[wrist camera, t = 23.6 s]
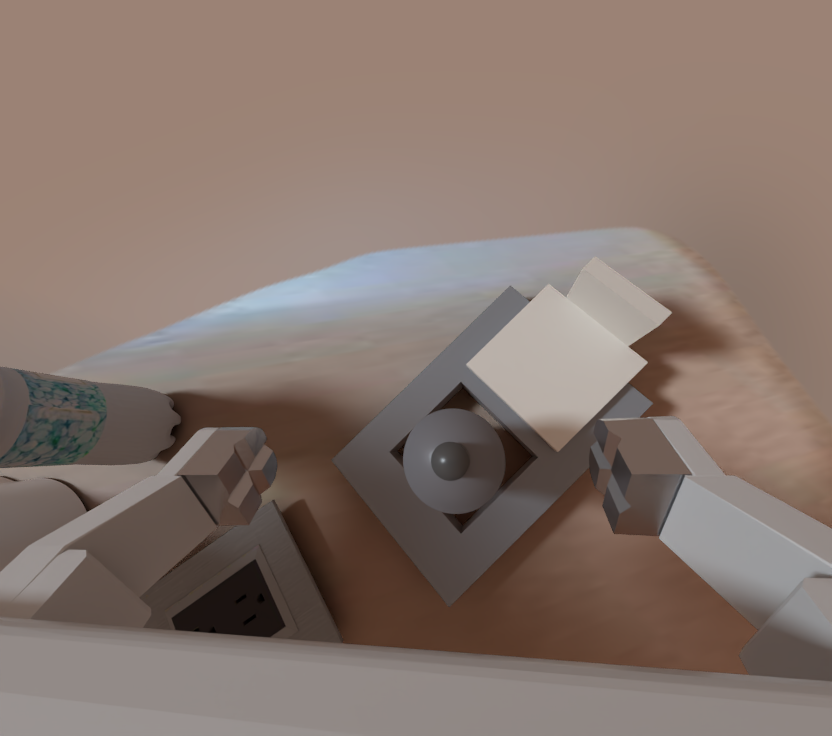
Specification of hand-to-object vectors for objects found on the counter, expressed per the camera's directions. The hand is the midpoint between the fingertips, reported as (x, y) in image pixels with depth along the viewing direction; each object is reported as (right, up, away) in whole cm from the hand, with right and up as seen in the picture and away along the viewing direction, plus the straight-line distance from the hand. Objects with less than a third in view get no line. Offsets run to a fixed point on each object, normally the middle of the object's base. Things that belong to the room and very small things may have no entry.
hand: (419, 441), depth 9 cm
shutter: (+9, +2, +15) cm, 18 cm away
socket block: (+5, -3, +17) cm, 18 cm away
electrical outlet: (-13, -16, +18) cm, 28 cm away
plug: (+3, -5, +17) cm, 18 cm away
